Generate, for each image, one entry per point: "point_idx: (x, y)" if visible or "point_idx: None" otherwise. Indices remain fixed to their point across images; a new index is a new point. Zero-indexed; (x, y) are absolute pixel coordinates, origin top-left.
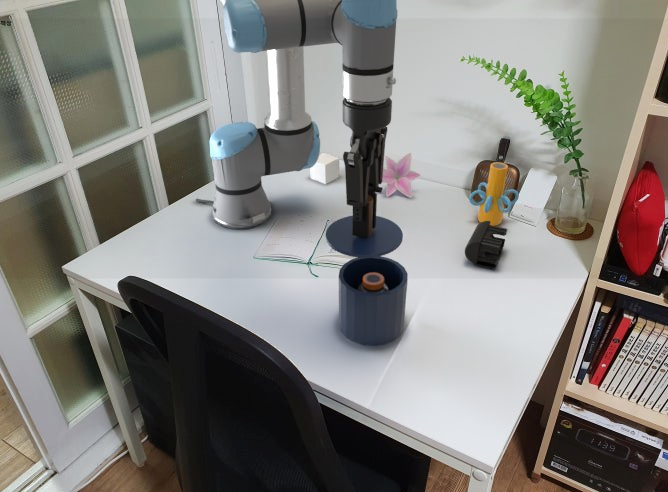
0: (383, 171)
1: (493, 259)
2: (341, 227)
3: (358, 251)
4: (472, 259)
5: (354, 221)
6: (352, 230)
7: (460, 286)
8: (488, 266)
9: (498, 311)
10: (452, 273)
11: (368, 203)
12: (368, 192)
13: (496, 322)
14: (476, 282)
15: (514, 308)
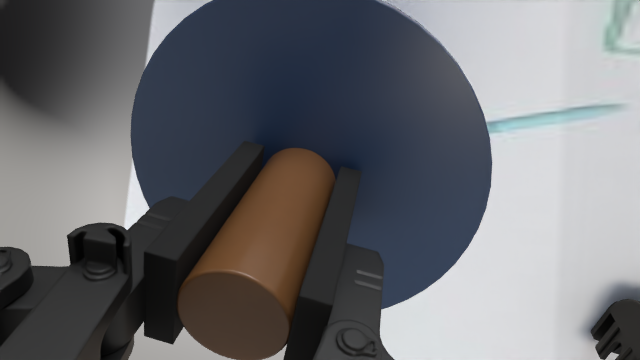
0: None
1: (603, 351)
2: (333, 65)
3: (155, 172)
4: (619, 309)
5: (171, 198)
6: (235, 150)
7: (524, 267)
8: (599, 328)
9: (438, 318)
10: (581, 256)
11: (161, 340)
12: (317, 342)
13: (404, 311)
14: (540, 297)
15: (450, 342)
